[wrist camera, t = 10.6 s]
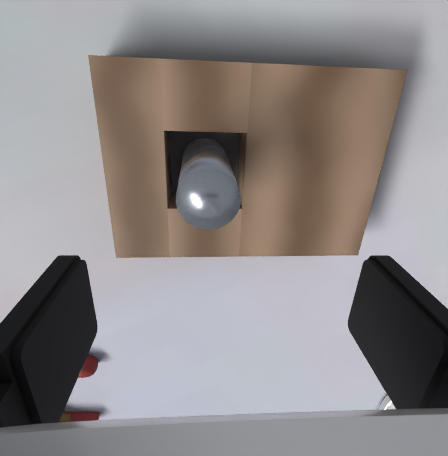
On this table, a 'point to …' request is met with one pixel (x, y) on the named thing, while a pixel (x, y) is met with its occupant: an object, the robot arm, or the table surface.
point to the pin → (207, 186)
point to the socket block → (245, 152)
